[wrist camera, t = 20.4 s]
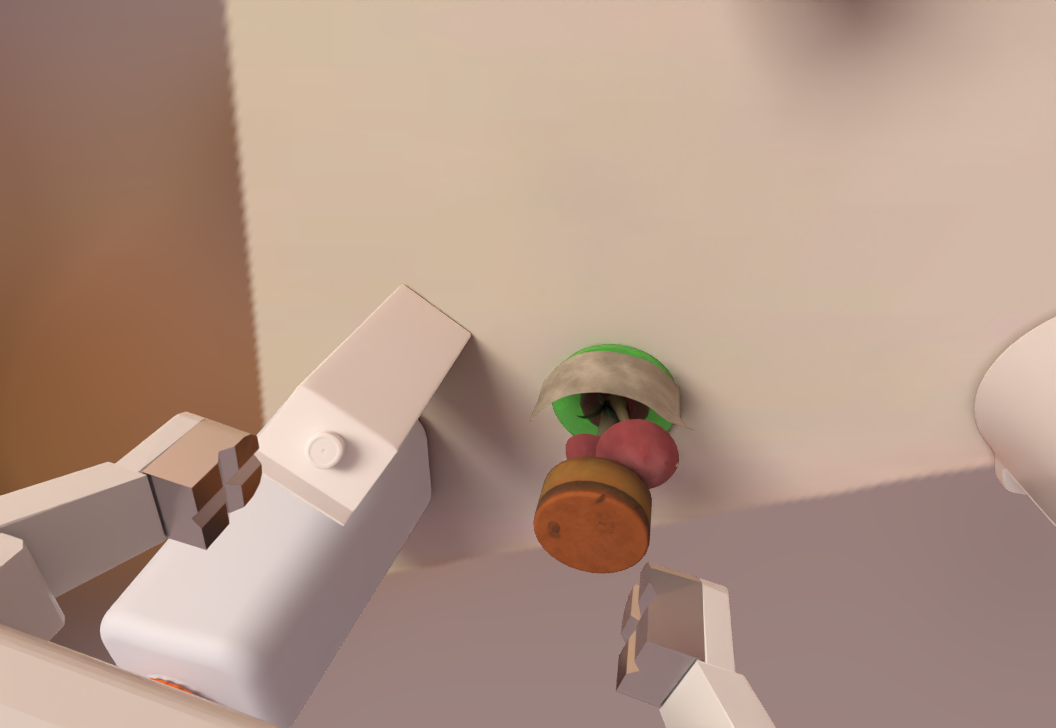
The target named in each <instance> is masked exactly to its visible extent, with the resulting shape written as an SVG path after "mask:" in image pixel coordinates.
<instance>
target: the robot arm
mask: <svg viewBox="0 0 1056 728" xmlns="http://www.w3.org/2000/svg"><path fill="white" fill-rule="evenodd" d="M974 413H975V420H976V424H977V427H978V429H979V431H980V433H981V435H982V436H983V438H984V439H985V440H986V442H987V443H988V444H989V446H990V447H991V448H992V450H993V452H994V454H995V474H996V477H997V480H998V481H999V482H1000V483H1001V484H1002V486H1003V487H1004V488H1005V489H1006V490H1007V491H1009V492H1012V493H1015V494H1021V495H1028V496H1029V497H1030V499H1031V500H1032V501H1033V502H1034V503H1035V504H1036V505H1037V507H1038V508H1039V509H1040V510H1041V511H1042V512H1043V513H1044V514H1045V516H1047V518H1048V519H1049V520H1050V521H1051V522H1052V523H1053V525H1054V526H1055V527H1056V317H1054V318H1052V319H1050V320H1048V321H1046V322H1044V323H1042V324H1041V325H1039V326H1037V327H1036V328H1034V329H1032V330H1031V331H1029V332H1028V333H1026V334H1025V335H1023V336H1022V337H1021V338H1019V339H1018V340H1017V341H1015V342H1014V343H1013V344H1012V345H1011V346H1009V347H1008V348H1007V349H1006V350H1005V351H1004V352H1003V353H1002V354H1001V355H1000V356H999V357H998V358H997V359H996V360H995V362H994V363H993V364H992V365H991V367H990V368H989V370H988V371H987V372H986V374H985V376H984V377H983V379H982V381H981V383H980V386H979V388H978V391H977V394H976V398H975V405H974ZM258 449H259V443H258V438H257V436H255V435H252V434H249V433H246V432H244V431H241V430H238V429H235V428H232V427H230V426H227V425H224V424H221V423H218V422H215V421H212V420H209V419H207V418H204V417H201V416H198V415H195V414H192V413H189V412H184V413H181V414H178V415H176V416H174V417H173V418H172V419H171V420H169V421H168V422H167V423H166V424H164V425H163V426H162V427H161V428H159V429H158V430H157V431H156V432H154V433H153V434H152V435H151V436H149V437H148V438H147V439H146V440H144V441H143V442H142V443H141V444H140V445H138V446H137V447H136V448H134V449H133V450H132V451H131V452H129V453H128V454H127V455H126V456H124V457H123V458H122V459H121V460H119V461H118V462H117V463H116V464H114V463H110V462H106V463H103V464H100V465H97V466H94V467H90V468H87V469H84V470H81V471H78V472H74V473H71V474H68V475H65V476H62V477H59V478H55V479H52V480H49V481H46V482H43V483H40V484H37V485H33V486H30V487H27V488H24V489H21V490H17V491H15V492H11V493H8V494H5V495H2V496H0V728H283V727H280V726H277V725H275V724H272V723H269V722H267V721H264V720H261V719H258V718H256V717H253V716H250V715H248V714H245V713H242V712H239V711H237V710H234V709H231V708H229V707H226V706H223V705H220V704H218V703H215V702H212V701H210V700H207V699H204V698H201V697H199V696H196V695H193V694H191V693H188V692H185V691H182V690H180V689H177V688H174V687H172V686H169V685H166V684H163V683H161V682H158V681H155V680H153V679H150V678H147V677H144V676H142V675H139V674H136V673H134V672H131V671H128V670H125V669H123V668H120V667H117V666H114V665H112V664H109V663H106V662H104V661H101V660H98V659H95V658H93V657H90V656H87V655H85V654H82V653H79V652H77V651H74V650H71V649H68V648H66V647H63V646H60V645H57V644H55V643H52V642H49V640H50V639H51V638H52V637H53V636H54V635H55V634H56V633H57V632H58V631H59V630H60V629H61V628H62V627H63V626H64V624H65V616H64V614H63V613H62V611H61V609H60V607H59V605H58V603H57V601H56V600H55V598H56V597H58V596H60V595H62V594H63V593H65V592H67V591H69V590H71V589H73V588H75V587H77V586H79V585H81V584H83V583H85V582H87V581H89V580H90V579H92V578H94V577H96V576H98V575H100V574H102V573H104V572H105V571H108V570H110V569H112V568H114V567H115V566H117V565H119V564H121V563H123V562H125V561H127V560H129V559H131V558H133V557H135V556H136V555H139V554H140V553H142V552H144V551H146V550H148V549H150V548H152V547H154V546H156V545H158V544H160V543H162V542H163V541H165V540H166V538H169V539H172V540H175V541H179V542H182V543H185V544H188V545H191V546H195V547H198V548H201V549H204V550H207V549H208V548H209V547H210V545H211V544H212V543H213V542H214V541H215V540H216V539H217V538H218V536H219V535H220V534H221V533H222V532H223V531H224V530H225V528H226V527H227V526H228V525H229V524H230V513H231V512H234V511H236V510H238V509H241V508H243V507H245V506H246V504H247V503H248V502H249V501H250V500H251V498H252V497H253V496H254V494H255V492H256V490H257V488H258V486H259V484H260V482H261V476H262V465H261V463H260V461H259V460H258V459H257V457H256V456H255V455H254V453H255V452H256V451H257V450H258ZM621 634H622V636H623V638H624V640H625V642H626V644H625V646H624V648H623V650H622V652H621V653H620V655H619V660H618V673H617V684H616V691H617V692H619V693H622V694H624V695H627V696H630V697H632V698H635V699H638V700H640V701H643V702H646V703H649V704H651V705H654V706H656V707H659V708H661V709H660V710H659V711H660V713H661V716H662V718H663V721H664V723H665V726H666V728H776V727H775V725H774V724H773V722H772V720H771V719H770V717H769V715H768V714H767V712H766V710H765V709H764V707H763V706H762V704H761V702H760V701H759V699H758V697H757V696H756V694H755V692H754V691H753V689H752V688H751V686H750V684H749V683H748V681H747V679H746V678H745V676H744V675H741V674H738V673H736V666H735V656H734V645H733V634H732V622H731V612H730V600H729V592H728V590H727V588H726V587H725V586H722V585H719V584H716V583H713V582H710V581H707V580H704V579H700V578H698V577H696V576H693V575H689V574H686V573H683V572H680V571H677V570H673V569H670V568H667V567H664V566H661V565H657V564H654V563H650V562H647V563H646V564H645V565H644V567H643V569H642V571H641V572H640V583H639V584H637V585H634V586H633V588H632V590H631V592H630V594H629V596H628V599H627V602H626V606H625V609H624V614H623V620H622V629H621Z"/></svg>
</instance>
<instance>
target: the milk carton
mask: <svg viewBox="0 0 1056 728" xmlns="http://www.w3.org/2000/svg"><path fill="white" fill-rule="evenodd" d="M470 337H471V334H470V333H469V332H468V331H467V330H465V329H464V328H462V327H461V326H460V325H458V324H457V323H456V322H454V321H453V320H452V319H450V318H449V317H447V316H446V315H445V314H443V313H442V312H441V311H439V310H438V309H437V308H435V307H434V306H432V305H431V304H430V303H428V302H427V301H426V300H424V299H423V298H422V297H420V296H419V295H417V294H416V293H415V292H413V291H412V290H411V289H409V288H408V287H406V286H405V285H400V286H399V287H398V288H397V289H396V290H395V291H394V292H393V293H392V294H391V295H390V296H389V297H388V298H387V299H386V300H385V301H384V302H383V303H382V304H381V305H380V306H379V307H378V308H377V309H376V310H375V311H374V312H373V313H372V314H371V315H370V316H369V317H368V318H367V319H366V320H365V321H364V322H363V323H362V324H361V325H360V326H359V327H358V328H357V329H356V330H355V331H354V332H353V333H352V334H351V335H350V336H349V337H348V338H346V339H345V340H344V341H343V342H342V343H341V344H340V345H339V346H338V347H337V348H336V349H335V350H334V351H333V352H332V353H331V354H330V355H329V356H328V357H327V358H326V359H325V360H324V361H323V362H322V363H321V364H320V365H319V366H318V367H317V368H316V369H315V370H314V371H313V372H312V373H311V374H310V375H309V376H308V377H307V378H306V379H305V380H304V381H303V382H302V383H301V384H300V385H299V386H298V387H297V388H296V390H295V391H294V392H293V393H292V395H291V396H290V397H289V399H288V400H287V401H286V403H285V404H284V405H283V407H282V408H281V409H280V410H279V412H278V413H277V414H276V416H275V417H274V418H273V420H272V421H271V422H270V424H269V425H268V426H267V427H266V429H265V430H264V431H263V433H262V434H261V435H260V437H259V438H258V443H259V449H258V450H257V451H256V452H255V453H254V455H255V456H256V457H257V459H258V460H259V461H260V463H261V465H262V475H263V476H265V477H266V478H268V479H270V480H271V481H273V482H274V483H276V484H277V485H279V486H281V487H282V488H284V489H285V490H287V491H288V492H290V493H292V494H293V495H295V496H296V497H298V498H299V499H301V500H303V501H304V502H306V503H307V504H309V505H310V506H312V507H314V508H315V509H317V510H318V511H320V512H321V513H323V514H325V515H326V516H328V517H329V518H331V519H332V520H334V521H336V522H337V523H339V524H340V525H342V526H344V525H345V524H346V522H347V521H348V519H349V518H350V516H351V515H352V513H353V512H354V510H355V509H356V508H357V506H358V505H359V503H360V502H361V501H362V499H363V498H364V497H365V495H366V494H367V492H368V491H369V490H370V488H371V487H372V486H373V484H374V483H375V481H376V480H377V479H378V477H379V476H380V475H381V473H382V472H383V470H384V469H385V468H386V466H387V465H388V464H389V462H390V461H391V459H392V458H393V457H394V455H395V454H396V453H397V451H398V449H399V448H400V446H401V445H402V443H403V442H404V440H405V438H406V437H407V435H408V434H409V432H410V431H411V429H412V428H413V426H414V424H415V423H416V421H417V420H418V418H419V417H420V415H421V414H422V412H423V410H424V409H425V407H426V406H427V404H428V403H429V401H430V399H431V398H432V396H433V395H434V393H435V392H436V390H437V389H438V387H439V385H440V384H441V382H442V381H443V379H444V378H445V376H446V375H447V373H448V371H449V370H450V368H451V367H452V365H453V364H454V362H455V360H456V359H457V357H458V356H459V354H460V353H461V351H462V350H463V348H464V346H465V345H466V343H467V342H468V340H469V339H470Z"/></svg>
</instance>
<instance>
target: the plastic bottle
mask: <svg viewBox="0 0 1056 728" xmlns="http://www.w3.org/2000/svg"><path fill="white" fill-rule="evenodd" d="M288 399H289V398H288ZM288 399H287V400H288ZM287 400H286V401H287ZM286 401H285V403H286ZM285 403H284V404H285ZM284 404H283V405H284ZM283 405H282V406H281V407H280V409H281V408H282V407H283ZM280 409H279V410H280ZM279 410H278V411H277V412H276V413H275V414H274V416H273V417H272V418H271V419H270V420H269V421H268V423H267V424H266V425H265V426H264V427H263V429H262V430H261V431H260V432H259V433H258V434H257V438H259V437H260V435H261V434H262V433H263V431H264V430H265V429H266V427H267V426H268V425H269V424H270V422H271V421H272V420H273V418H274V417H275V416H276V414H277V413H278V412H279ZM430 499H431V480H430V468H429V457H428V445H427V437H426V433H425V430H424V428H423V426H422V425H421V423H420V421H419V420H417V421H416V423H415V424H414V426H413V428H412V429H411V431H410V432H409V434H408V435H407V437H406V438H405V440H404V442H403V443H402V445H401V446H400V448H399V449H398V451H397V453H396V454H395V455H394V457H393V458H392V459H391V461H390V462H389V464H388V465H387V466H386V468H385V469H384V470H383V472H382V473H381V475H380V476H379V477H378V479H377V480H376V481H375V483H374V484H373V486H372V487H371V488H370V490H369V491H368V492H367V494H366V495H365V497H364V498H363V499H362V501H361V502H360V503H359V505H358V506H357V508H356V509H355V510H354V512H353V513H352V515H351V516H350V518H349V519H348V521H347V522H346V524H345V525H344V526H342V525H340V524H339V523H337V522H336V521H334V520H332V519H331V518H329V517H328V516H326V515H325V514H323V513H321V512H320V511H318V510H317V509H315V508H314V507H312V506H310V505H309V504H307V503H306V502H304V501H303V500H301V499H299V498H298V497H296V496H295V495H293V494H292V493H290V492H288V491H287V490H285V489H284V488H282V487H281V486H279V485H277V484H276V483H274V482H273V481H271V480H270V479H268V478H266V477H265V476H263V475H262V476H261V482H260V484H259V486H258V488H257V490H256V492H255V494H254V496H253V497H252V498H251V500H250V501H249V502H248V503H247V504H246V506H245V507H243V508H241V509H238V510H236V511H234V512H231V513H230V524H229V525H228V526H227V527H226V528H225V530H224V531H223V532H222V533H221V534H220V535H219V536H218V538H217V539H216V540H215V541H214V542H213V543H212V544H211V545H210V547H209V548H208V549H207V550H204V549H201V548H198V547H195V546H191V545H188V544H185V543H182V542H179V541H175V540H172V539H168V541H167V542H166V543H165V544H164V545H163V547H162V548H161V549H160V550H159V551H158V552H157V553H156V555H155V556H154V557H153V558H152V559H151V561H150V562H149V563H148V564H147V565H146V567H145V568H144V569H143V570H142V571H141V572H140V573H139V575H138V576H137V577H136V578H135V579H134V581H133V582H132V583H131V584H130V585H129V587H128V588H127V589H126V590H125V591H124V592H123V594H122V595H121V596H120V597H119V598H118V600H117V601H116V602H115V603H114V604H113V605H112V606H111V608H110V609H109V610H108V611H107V613H106V614H105V616H104V618H103V620H102V623H101V627H100V634H101V639H102V641H103V643H104V645H105V647H106V648H107V650H108V651H109V653H110V655H111V657H112V658H113V660H114V661H115V663H116V664H117V666H118V667H120V668H123V669H125V670H128V671H131V672H134V673H136V674H139V675H142V676H144V677H147V678H150V679H153V680H155V681H158V682H161V683H163V684H166V685H169V686H172V687H174V688H177V689H180V690H182V691H185V692H188V693H191V694H193V695H196V696H199V697H201V698H204V699H207V700H210V701H212V702H215V703H218V704H220V705H223V706H226V707H229V708H231V709H234V710H237V711H239V712H242V713H245V714H248V715H250V716H253V717H256V718H258V719H261V720H264V721H267V722H269V723H272V724H275V725H277V726H280V727H283V728H291V726H292V725H293V723H294V721H295V720H296V718H297V717H298V715H299V714H300V712H301V710H302V709H303V707H304V705H305V704H306V702H307V700H308V699H309V697H310V696H311V694H312V693H313V691H314V689H315V688H316V686H317V684H318V683H319V681H320V679H321V678H322V676H323V675H324V673H325V671H326V670H327V668H328V667H329V665H330V663H331V662H332V660H333V658H334V657H335V655H336V654H337V652H338V650H339V649H340V647H341V645H342V644H343V642H344V641H345V639H346V637H347V636H348V634H349V632H350V631H351V629H352V628H353V626H354V624H355V623H356V621H357V620H358V618H359V616H360V614H361V613H362V611H363V610H364V608H365V607H366V605H367V603H368V602H369V600H370V599H371V597H372V595H373V594H374V592H375V590H376V589H377V587H378V585H379V584H380V582H381V581H382V579H383V577H384V576H385V574H386V573H387V571H388V569H389V568H390V566H391V565H392V563H393V561H394V560H395V558H396V556H397V555H398V553H399V552H400V550H401V548H402V547H403V545H404V543H405V542H406V540H407V539H408V537H409V535H410V534H411V532H412V530H413V529H414V527H415V526H416V524H417V522H418V521H419V519H420V518H421V516H422V514H423V513H424V511H425V509H426V508H427V506H428V504H429V502H430Z"/></svg>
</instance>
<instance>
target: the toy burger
mask: <svg viewBox="0 0 1056 728" xmlns="http://www.w3.org/2000/svg"><path fill="white" fill-rule="evenodd" d="M550 403H552V406H553V409H554V412H555V414H556V416H557V418H558V419H559V421H560V422H561V424H562V425H563V426H564V427H565V428H566V429H567V430H568V431H569V432H570V433H571V434H572V435H574V436H573V437H571V438H570V439H569V440H568V441H567V444H566V456H567V460H566V461H563V462H561V463H560V464H558V465H557V466H555V467H554V468H553V469H552V470H551V471H550V472H549V473H548V475H547V477H546V479H545V481H544V485H543V488H542V492H541V495H540V499H539V502H538V505H537V509H536V512H535V517H534V531H535V534H536V537H537V539H538V541H539V543H540V544H541V545H542V547H543V548H544V549H545V550H546V551H547V552H548V553H549V554H550V555H551V556H552V557H554V558H555V559H557V560H558V561H560V562H561V563H563V564H565V565H568V566H569V567H572V568H575V569H578V570H582V571H586V572H591V573H614V572H618V571H622V570H625V569H627V568H630V567H632V566H634V565H635V564H636V563H638V562H639V561H640V560H641V559H642V558H643V556H644V555H645V554H646V552H647V549H648V546H649V540H650V524H651V506H652V498H651V494H650V491H649V489H651V488H654V487H657V486H659V485H661V484H663V483H664V482H666V481H667V480H668V479H669V478H670V477H671V476H672V474H673V473H674V472H675V470H676V468H677V467H678V462H679V454H678V450H677V446H676V444H675V442H674V440H673V438H672V437H671V436H670V434H669V433H668V432H667V431H668V430H669V428H670V427H671V426H672V424H676V425H678V426H681V427H684V428H688V429H691V428H689V427H687V426H686V425H685V424H684V423H683V422H682V420H681V418H680V414H679V387H678V386H677V385H676V384H675V382H674V380H673V378H672V376H671V375H670V373H669V372H668V370H667V369H666V368H665V367H664V366H663V365H662V364H661V363H660V362H659V361H658V360H656V359H655V358H654V357H652V356H650V355H649V354H647V353H645V352H643V351H641V350H638V349H635V348H632V347H629V346H624V345H616V344H604V345H597V346H592V347H589V348H585V349H583V350H581V351H579V352H577V353H575V354H573V355H572V356H571V357H569V358H568V359H567V360H566V361H564V362H563V363H562V364H560V365H559V366H558V367H557V368H556V369H555V370H554V371H553V372H552V373H551V374H550V375H549V376H548V377H547V379H546V380H545V381H544V383H543V386H542V388H541V391H540V395H539V399H538V401H537V404H536V406H535V408H534V410H533V413H532V416H531V418H530V421H531V420H532V419H533V418H534V417H535V416H536V414H537V413H538V412H540V411H541V410H542V409H543V408H544V407H546V406H547V405H549V404H550ZM530 421H529V422H530ZM691 430H693V429H691ZM694 431H695V430H694Z"/></svg>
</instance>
